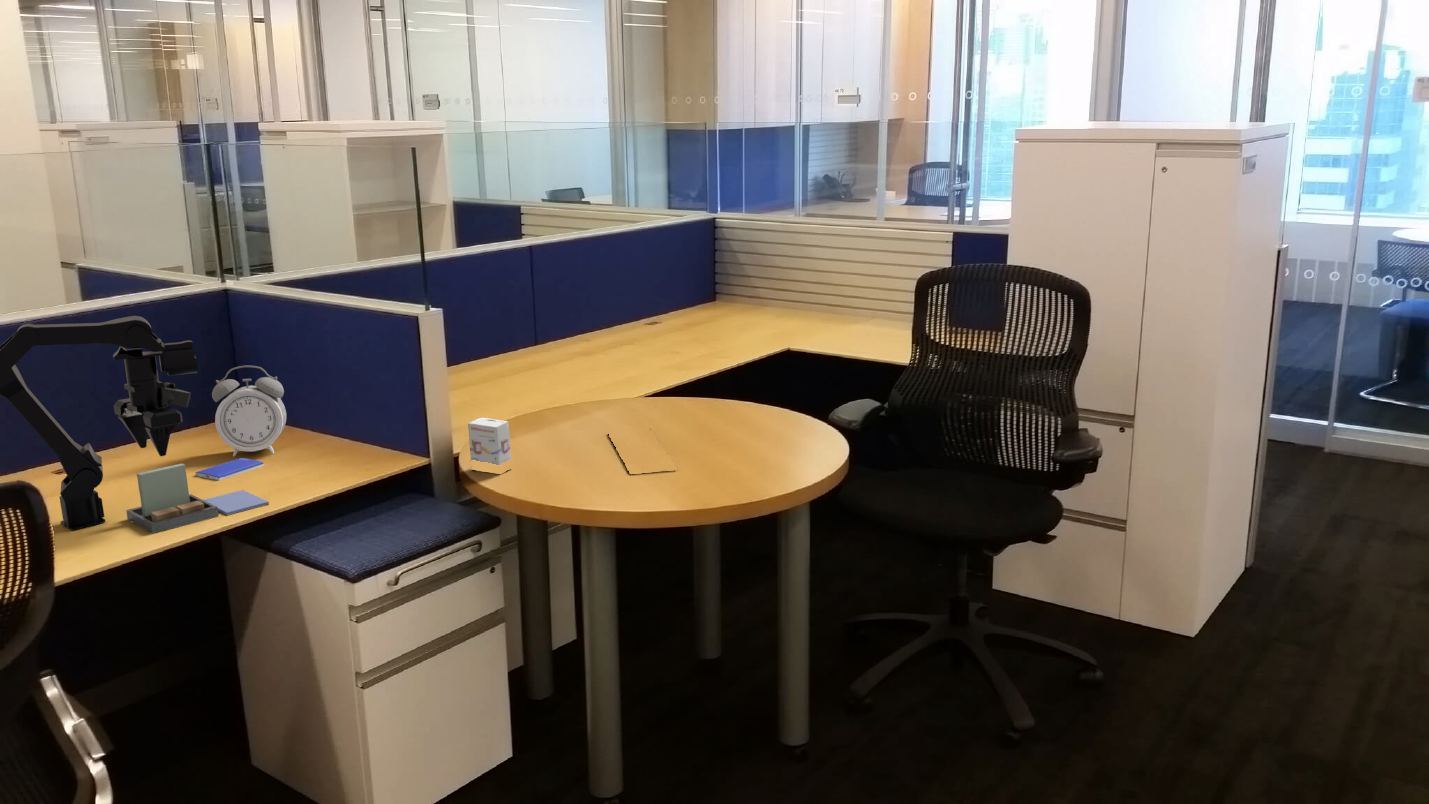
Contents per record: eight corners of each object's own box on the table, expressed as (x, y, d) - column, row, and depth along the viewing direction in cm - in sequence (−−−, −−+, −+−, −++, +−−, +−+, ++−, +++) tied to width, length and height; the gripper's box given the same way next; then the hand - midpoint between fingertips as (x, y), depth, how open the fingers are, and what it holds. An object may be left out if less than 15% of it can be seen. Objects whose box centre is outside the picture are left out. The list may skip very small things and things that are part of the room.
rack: (152, 533, 218) (151, 524, 218) (127, 519, 227) (126, 510, 226) (218, 516, 228) (217, 507, 227) (192, 503, 236) (191, 494, 236)
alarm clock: (216, 460, 267) (205, 371, 261) (223, 450, 275) (212, 364, 269) (288, 454, 271) (278, 367, 265) (292, 444, 279) (283, 360, 273)
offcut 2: (184, 523, 225) (182, 509, 224) (177, 519, 227) (176, 506, 226) (205, 517, 228) (203, 503, 227) (199, 514, 230) (197, 500, 229)
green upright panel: (146, 521, 225) (139, 475, 223) (143, 519, 226) (136, 473, 224) (191, 510, 232) (184, 464, 229) (187, 508, 233) (181, 463, 230)
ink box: (469, 471, 256) (466, 421, 253) (482, 465, 260) (479, 416, 258) (499, 475, 252) (496, 425, 250) (512, 469, 257) (509, 420, 254)
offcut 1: (159, 529, 221) (156, 515, 220) (152, 526, 223) (150, 512, 222) (181, 523, 224) (179, 510, 223) (174, 520, 226) (172, 506, 225)
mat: (227, 515, 228) (227, 512, 228) (201, 502, 236) (201, 500, 236) (268, 504, 235) (268, 501, 235) (242, 492, 243) (242, 489, 242)
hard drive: (240, 457, 265) (195, 471, 255) (263, 461, 261) (218, 476, 251) (240, 463, 266) (195, 477, 255) (264, 467, 262) (219, 482, 251)
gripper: (203, 377, 224) (212, 451, 228) (162, 365, 236) (172, 435, 240) (147, 387, 216) (157, 463, 220) (107, 374, 228) (118, 447, 232)
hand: (153, 451), depth 228 cm, fingers open, 9 cm apart
